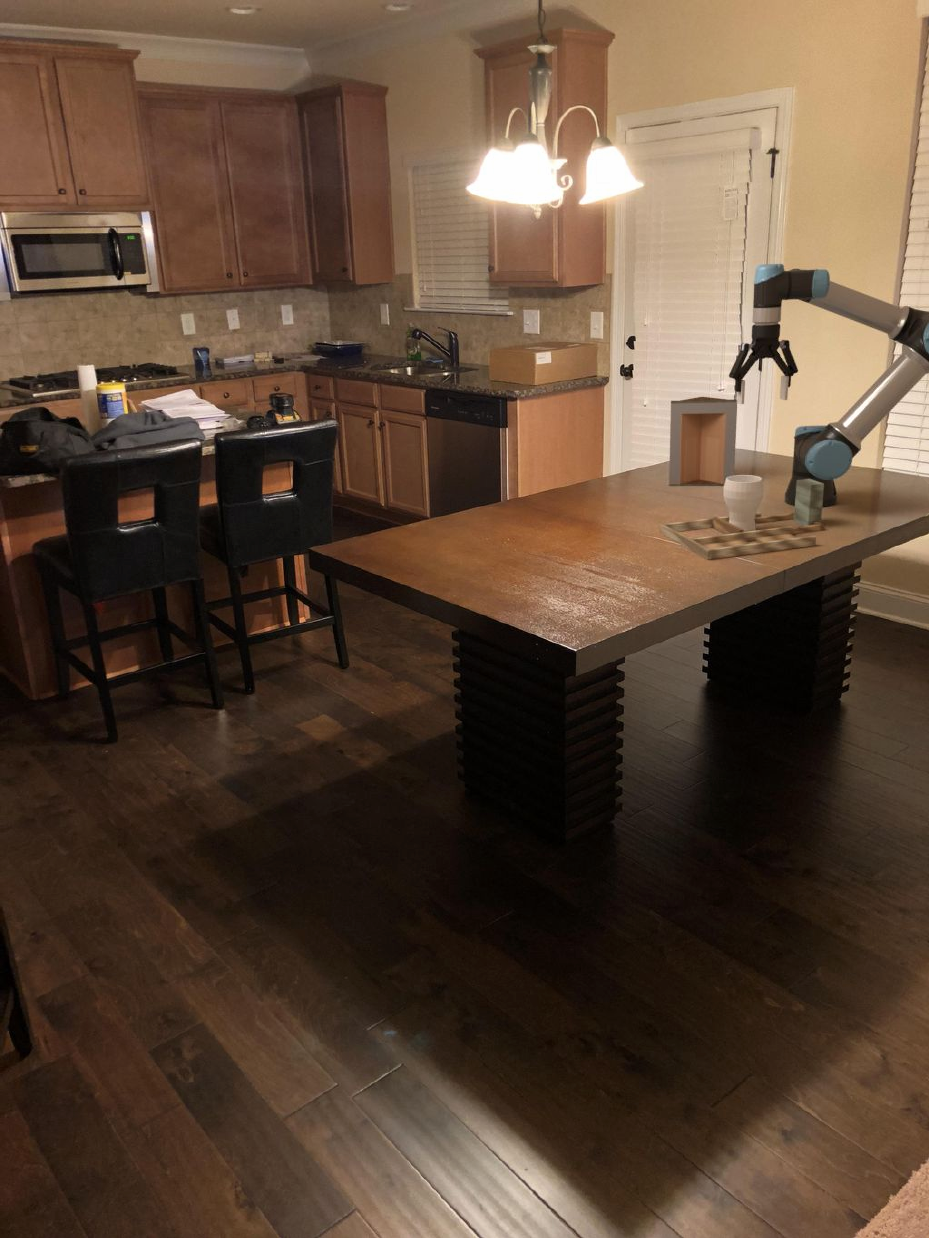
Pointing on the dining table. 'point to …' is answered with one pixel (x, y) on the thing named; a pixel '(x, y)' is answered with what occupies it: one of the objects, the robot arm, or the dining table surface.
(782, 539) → the lane rails
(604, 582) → the dining table surface
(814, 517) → the rail with green post
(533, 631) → the dining table surface
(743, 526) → the cup
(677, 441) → the cabinet
